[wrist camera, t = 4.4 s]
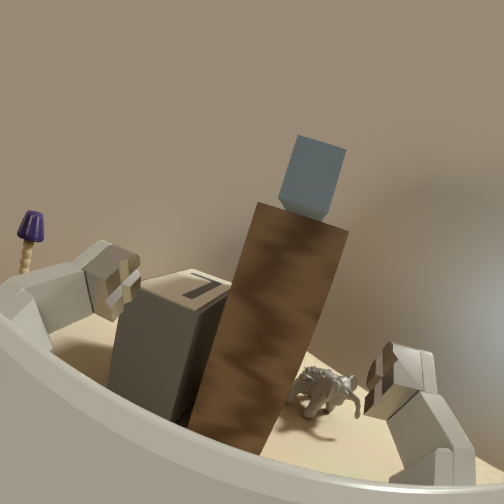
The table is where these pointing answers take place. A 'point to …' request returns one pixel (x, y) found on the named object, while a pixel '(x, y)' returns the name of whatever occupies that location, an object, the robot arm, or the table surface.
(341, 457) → the table surface
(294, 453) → the table surface
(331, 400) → the gray elephant figurine
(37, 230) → the toy lamp
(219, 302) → the stand
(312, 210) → the blue bar
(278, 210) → the walnut stand
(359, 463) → the table surface
